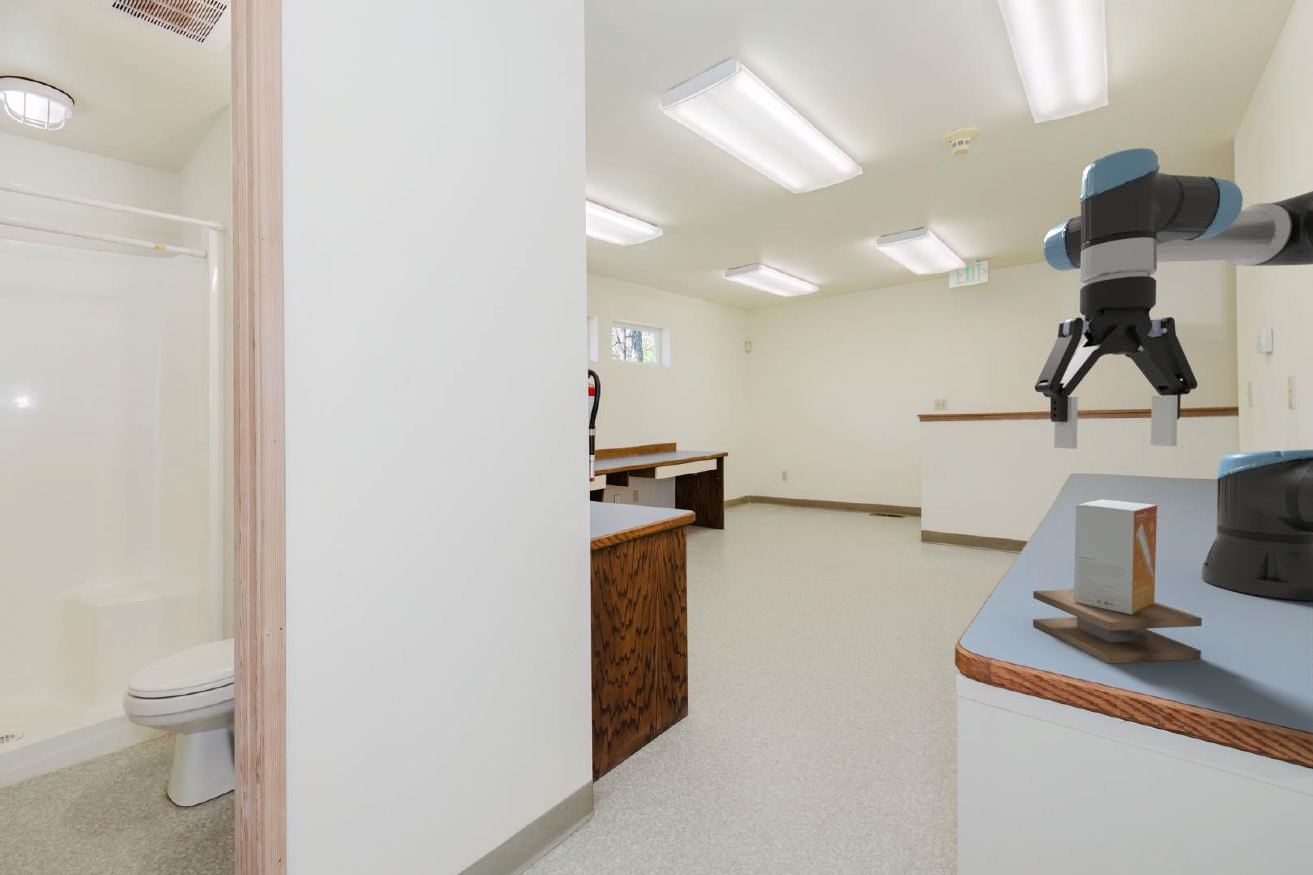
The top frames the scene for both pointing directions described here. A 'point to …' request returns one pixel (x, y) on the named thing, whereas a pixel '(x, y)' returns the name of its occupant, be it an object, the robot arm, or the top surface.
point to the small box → (1115, 555)
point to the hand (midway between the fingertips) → (1114, 447)
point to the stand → (1117, 630)
